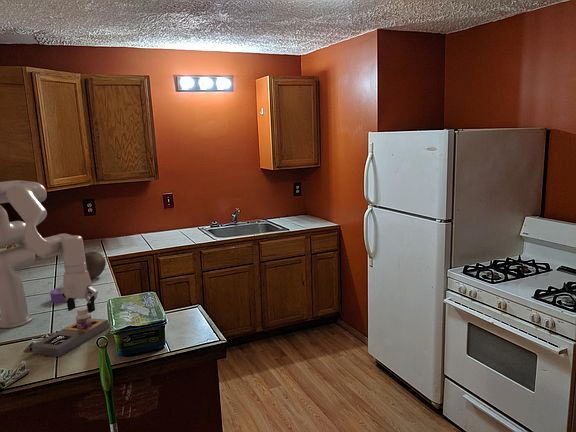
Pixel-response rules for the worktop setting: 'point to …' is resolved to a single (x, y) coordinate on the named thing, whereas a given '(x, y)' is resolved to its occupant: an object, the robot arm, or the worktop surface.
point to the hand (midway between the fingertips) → (81, 310)
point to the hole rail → (69, 338)
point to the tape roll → (57, 296)
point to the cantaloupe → (95, 264)
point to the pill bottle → (83, 318)
